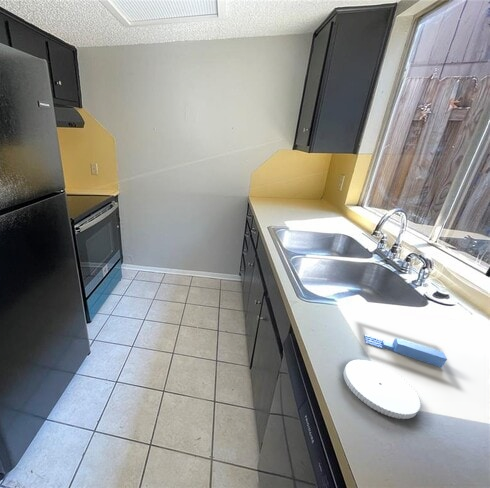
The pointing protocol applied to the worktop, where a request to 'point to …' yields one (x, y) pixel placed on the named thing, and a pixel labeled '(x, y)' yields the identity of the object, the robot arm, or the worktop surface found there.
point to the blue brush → (410, 350)
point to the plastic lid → (381, 389)
